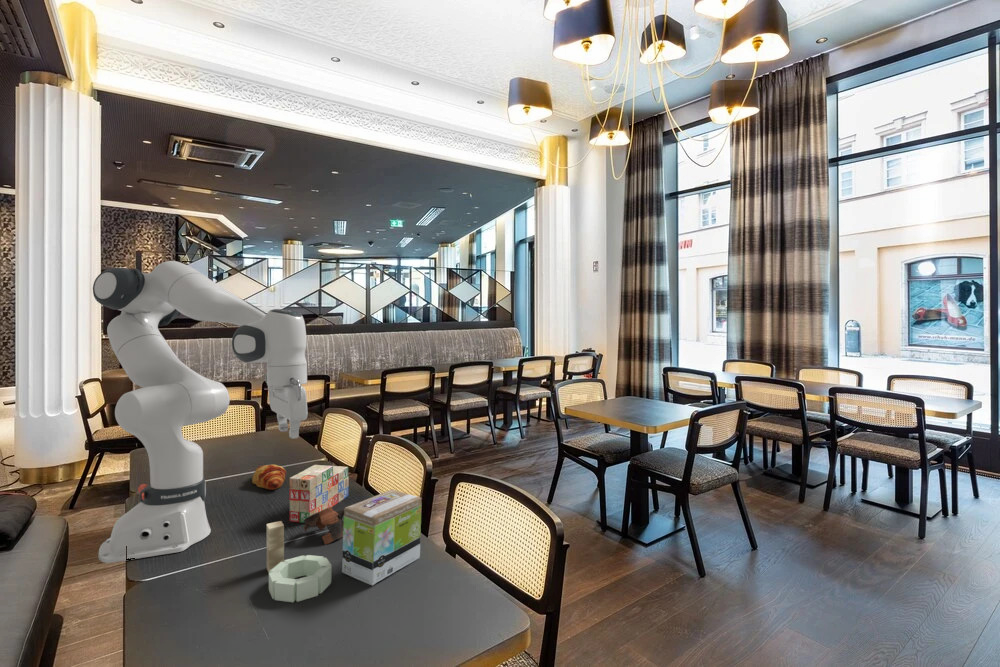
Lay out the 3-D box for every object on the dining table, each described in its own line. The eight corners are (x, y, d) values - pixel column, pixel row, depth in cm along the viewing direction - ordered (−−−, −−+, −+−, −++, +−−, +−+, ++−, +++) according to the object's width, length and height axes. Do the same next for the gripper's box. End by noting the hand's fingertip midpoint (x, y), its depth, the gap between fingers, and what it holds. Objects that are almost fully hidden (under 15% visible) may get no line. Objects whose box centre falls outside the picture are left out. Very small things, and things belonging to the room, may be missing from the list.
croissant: (253, 486, 169) (241, 468, 167) (280, 468, 175) (269, 450, 172) (268, 503, 153) (254, 483, 150) (297, 483, 158) (285, 463, 156)
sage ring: (276, 608, 93) (276, 590, 93) (265, 581, 103) (265, 565, 102) (336, 589, 100) (336, 572, 100) (321, 566, 109) (321, 550, 109)
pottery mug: (314, 551, 117) (302, 518, 119) (309, 553, 125) (298, 522, 126) (361, 527, 124) (349, 497, 125) (354, 530, 131) (343, 501, 133)
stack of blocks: (330, 494, 154) (330, 455, 153) (348, 496, 153) (349, 457, 152) (288, 521, 133) (289, 477, 132) (309, 524, 132) (309, 479, 131)
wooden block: (269, 574, 105) (269, 528, 105) (266, 568, 108) (266, 523, 108) (283, 570, 107) (284, 525, 107) (281, 564, 110) (281, 520, 109)
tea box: (373, 587, 101) (374, 517, 100) (341, 573, 106) (341, 507, 106) (421, 558, 114) (422, 495, 113) (390, 546, 119) (391, 487, 118)
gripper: (314, 379, 110) (315, 440, 110) (289, 372, 126) (291, 425, 126) (284, 381, 106) (285, 444, 106) (263, 374, 122) (264, 429, 122)
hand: (288, 434), depth 116 cm, fingers open, 8 cm apart
